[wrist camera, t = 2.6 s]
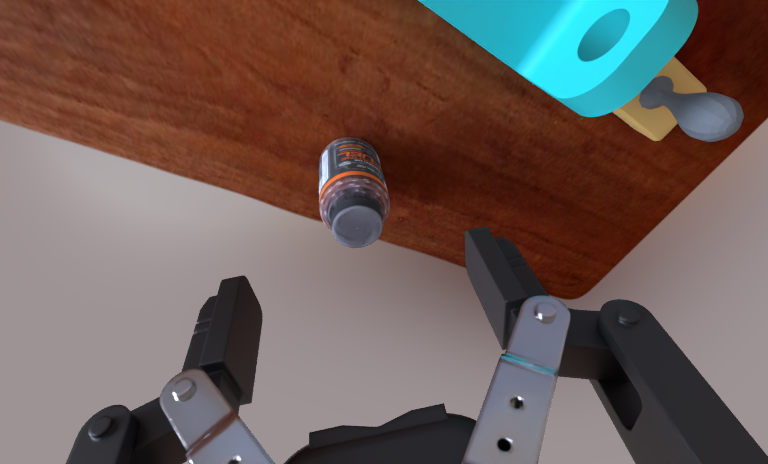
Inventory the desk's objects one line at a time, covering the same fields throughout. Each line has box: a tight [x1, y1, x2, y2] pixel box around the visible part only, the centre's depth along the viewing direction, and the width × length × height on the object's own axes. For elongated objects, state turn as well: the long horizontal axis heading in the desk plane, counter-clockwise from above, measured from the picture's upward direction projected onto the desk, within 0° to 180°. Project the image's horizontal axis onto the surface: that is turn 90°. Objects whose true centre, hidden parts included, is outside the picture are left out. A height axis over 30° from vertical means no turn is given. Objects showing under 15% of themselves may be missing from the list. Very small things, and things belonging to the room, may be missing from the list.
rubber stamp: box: [612, 56, 744, 142], centre depth 34 cm, size 10×6×12 cm, turn 58°
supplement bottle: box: [319, 137, 390, 248], centre depth 35 cm, size 6×6×11 cm
